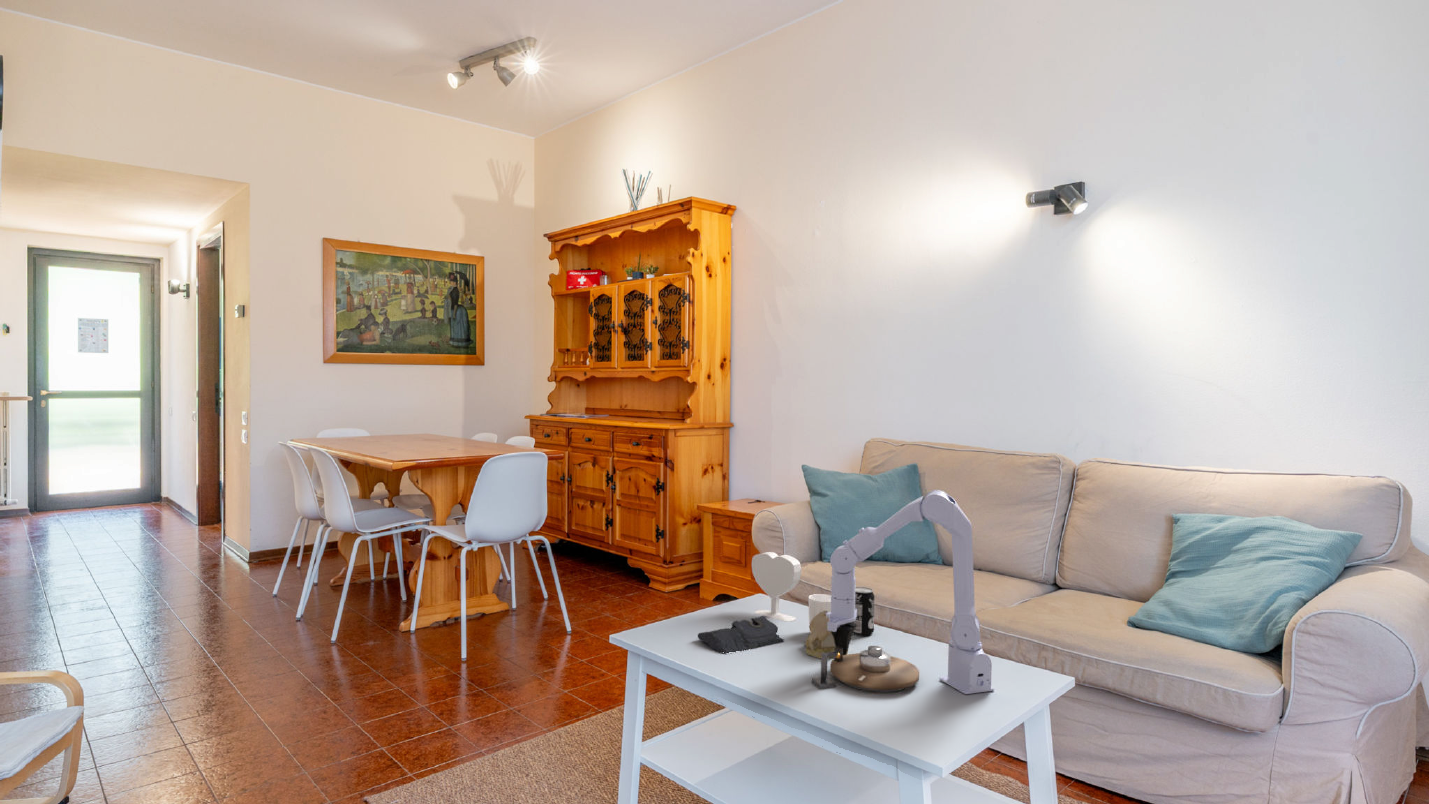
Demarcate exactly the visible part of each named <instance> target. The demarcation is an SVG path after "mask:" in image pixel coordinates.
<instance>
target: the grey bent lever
mask: <svg viewBox="0 0 1429 804" xmlns="http://www.w3.org/2000/svg"><path fill="white" fill-rule="evenodd" d="M828 657H836V658H840V654H839V653H837V652H829V653H821V658H820V676H819V677H811V683H812V684H813V685H814V686H815V687H817V688H818V689H819V690H822V689H823V690H824V689H830V688H836V687H837V682H836V681H835V680H834V679H832V678H831V677H829V676H828V659H829V658H828Z"/></svg>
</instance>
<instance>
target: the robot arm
mask: <svg viewBox="0 0 1429 804" xmlns="http://www.w3.org/2000/svg"><path fill="white" fill-rule="evenodd" d="M925 519H926V520H928V521H930V522H932V523H934V524H936V525H939V526H941V527H942V528H943V529H944V530H945V531H946V532H948V534H950V535H951V547H952V548H951V549H952V551H951V552H952V577H953V578H952V579H953V604H954V605H953V606H954V609H953V611H954V613H953V616H952V619H951V625H950V626H951V629H950V639H949V640H948V653H947V655H948V658H947V659H948V661H947V675H946V676H940V677H939V680H940V681H941V682H944V683H945V684H947V685H949V686H950V687H952V688H954V689H955V690H957V691H958V692H960V693H962V694H964V695H970V694H976V693H983V692H992V691H994V690H995V687H993V686H992V671H993V670H992V665H993V664H992V659H991V658H990V656H989V655H988V654H986V653H985V652H984V650H983V643H982V642H981V631H980V629H981V622H980V620H979V618H978V616H977V614H976V601H975V600H976V599H975V579H974V578H975V577H974V550H973V549H974V548H973V547H974V546H973V525H972V522H971V521H970V519H969V518H968V517H967V515H966V514H965V512H964V511H963V509H961V507H960V506H959V505H958V502H957V501H956V500H955V499H954V498H953V496H951V495H949V494H948V493H946V492H945V491H943V490H939V489H935V490H931V491H929V492H928V493H926V495H925V496H924V495H921V496H920V497H918V498H915V500H913V501H911V502H909V503H908V504H906V505H905V506H903V507H902V508H901V509H899V510H898V511H897V512H895V513H894V514H893V515H892V516H890V517H889V518H888V519H887V520H885V521H884V522H882V523H880V525H878V526H877V527H872V526H867V527H865V528H864V527H861V528H859V530H858V533H857V534H856V535H855V536H853V537H851V538H850V539H849V540H847V539H845V540H844V541H842V544H843V545H840V546H838V547H836V549H835V550H834V551H833V552H832V554H831V556H830V560H829V561H830V566H831V580H830V582H831V583H830V586H831V587H830V595H831V612H828V613H826V617H829V622H827V630H828V631H831V633H832V635H833V638H834V642H835V646H840V647H843V655H846V654H848V653H849V648H850V647H849V646H850V643H851V639H852V637H853V635H854V634H853V632H854V630H855V628H856V624H855V623H851V622H853V621H855V620H856V617H857V609H855V587H857V586H856V585H857V584H856V583H857V581H856V580H857V579H856V566H857V564H858V563H862V562H863V561H865V560H867V559H868V558H869V557H871V556H872V555H874V554H875V553H877V552H879V550H881V549H882V548H883V547H884V542H885V539H887V538H888V537H890V536H892V535H893V534H894V533H896V532H897V531H899V530H900V529H902V528H903V527H905V526H907V525H908V524H910V523H911V522H924V521H925ZM847 652H848V653H847Z"/></svg>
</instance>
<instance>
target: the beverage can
mask: <svg viewBox="0 0 1429 804" xmlns="http://www.w3.org/2000/svg"><path fill="white" fill-rule="evenodd" d="M875 598H876V597H875V594H874V589H873V588H870V587H867V586H866V587H865V586H856V587H855V609H857V617H856V620H855V621H853V622H851V623H855V624H856V628H855V630H854V632H853V634H852V635H854V636H859V637H868V636H871V635H872V634H873V633H874V631H875V630H874V629H875Z"/></svg>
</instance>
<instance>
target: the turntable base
mask: <svg viewBox="0 0 1429 804" xmlns="http://www.w3.org/2000/svg"><path fill="white" fill-rule="evenodd" d="M841 682H842V683H844V684H845V685H847V686H849V687H852V688H855V689H859V690H862V691H866V692H867V691H868V692H875V693H877V692H878V693H891V692H898V691H901V690H904V689H906V688H901V689H890V690H882V689H870V688H863V687H858V686H854V685H851V684H848V683H845V682H843V681H841Z"/></svg>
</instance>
